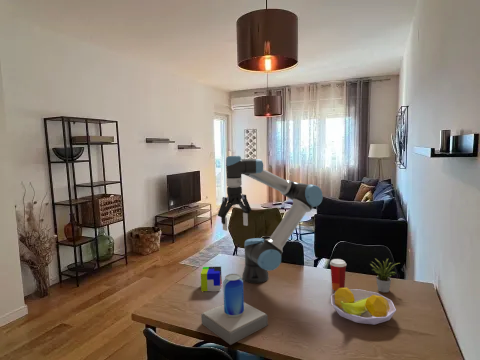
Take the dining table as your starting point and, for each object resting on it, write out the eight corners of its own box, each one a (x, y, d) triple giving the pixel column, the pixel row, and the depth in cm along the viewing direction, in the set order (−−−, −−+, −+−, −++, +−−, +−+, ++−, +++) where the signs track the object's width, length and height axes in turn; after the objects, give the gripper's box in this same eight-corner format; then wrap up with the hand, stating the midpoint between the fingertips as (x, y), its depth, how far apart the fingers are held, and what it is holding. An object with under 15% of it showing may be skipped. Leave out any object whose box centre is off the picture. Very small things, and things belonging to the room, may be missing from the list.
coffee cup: (344, 286, 166) (344, 258, 165) (348, 292, 158) (348, 264, 157) (328, 285, 167) (328, 258, 166) (331, 292, 159) (331, 264, 157)
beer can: (226, 319, 126) (225, 281, 125) (222, 310, 134) (221, 274, 133) (246, 316, 129) (245, 279, 127) (241, 307, 137) (240, 271, 135)
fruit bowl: (362, 296, 154) (362, 274, 153) (410, 323, 128) (410, 297, 127) (314, 308, 144) (314, 284, 143) (356, 340, 118) (356, 312, 118)
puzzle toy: (220, 291, 164) (219, 273, 163) (201, 292, 164) (200, 273, 163) (221, 283, 174) (221, 266, 173) (203, 284, 174) (203, 266, 173)
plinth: (237, 308, 146) (237, 297, 146) (267, 325, 131) (267, 313, 130) (201, 323, 133) (201, 312, 133) (230, 345, 118) (230, 332, 117)
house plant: (394, 284, 166) (395, 254, 165) (405, 296, 153) (406, 263, 151) (367, 283, 168) (367, 254, 166) (375, 295, 154) (376, 263, 153)
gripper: (218, 189, 146) (220, 233, 148) (257, 184, 162) (258, 224, 164) (209, 188, 152) (211, 230, 153) (247, 183, 168) (249, 222, 169)
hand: (235, 227), depth 159 cm, fingers open, 13 cm apart
